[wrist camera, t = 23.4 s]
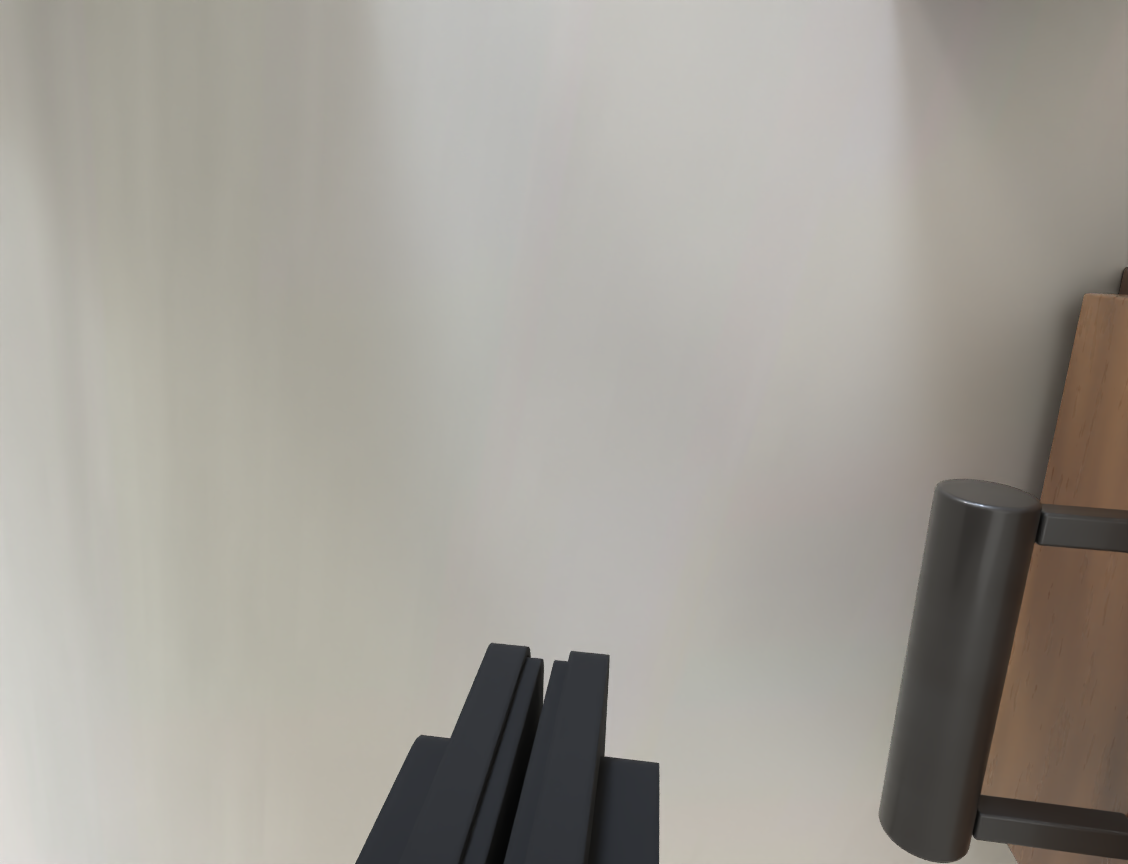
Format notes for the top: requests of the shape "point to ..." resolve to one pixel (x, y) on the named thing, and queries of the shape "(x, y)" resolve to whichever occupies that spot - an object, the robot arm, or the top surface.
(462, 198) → the top surface
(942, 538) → the drawer
